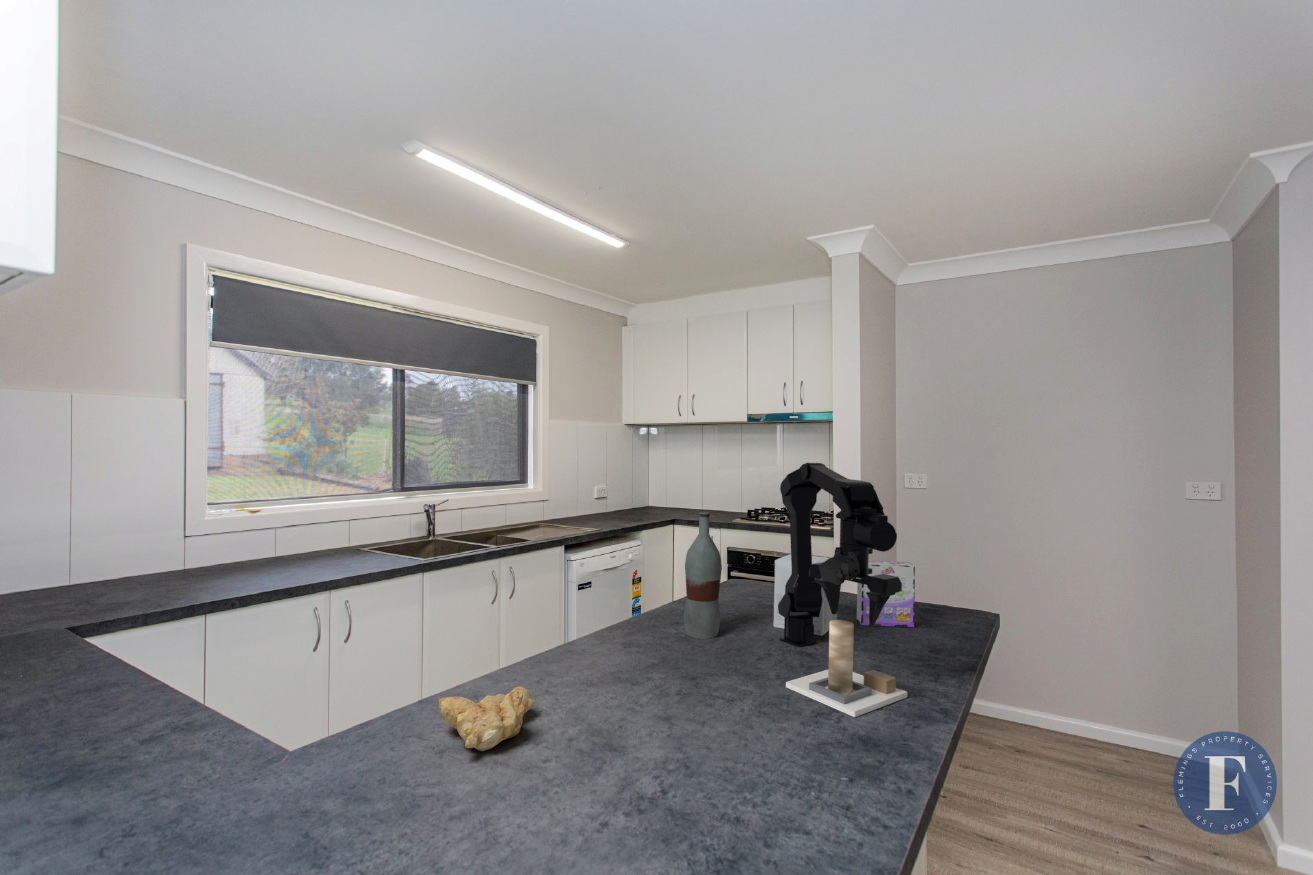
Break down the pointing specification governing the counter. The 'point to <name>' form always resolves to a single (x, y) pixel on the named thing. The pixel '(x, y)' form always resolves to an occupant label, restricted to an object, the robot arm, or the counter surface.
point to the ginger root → (487, 717)
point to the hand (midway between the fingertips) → (852, 619)
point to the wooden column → (840, 656)
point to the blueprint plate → (865, 691)
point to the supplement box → (781, 578)
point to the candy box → (898, 605)
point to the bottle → (702, 584)
